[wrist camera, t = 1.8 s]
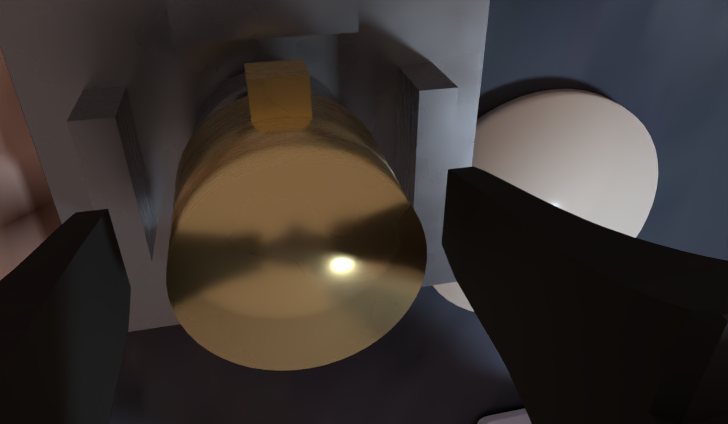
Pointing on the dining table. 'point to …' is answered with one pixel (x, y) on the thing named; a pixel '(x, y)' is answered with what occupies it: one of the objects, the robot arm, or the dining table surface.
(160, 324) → the post base
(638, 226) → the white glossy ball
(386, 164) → the cap
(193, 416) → the dining table surface
